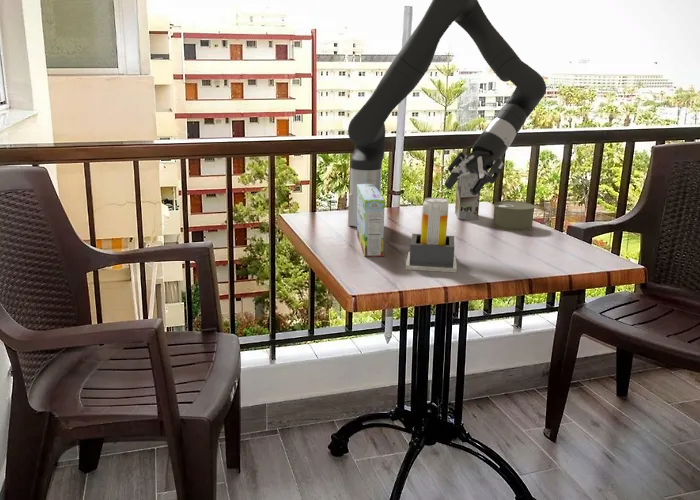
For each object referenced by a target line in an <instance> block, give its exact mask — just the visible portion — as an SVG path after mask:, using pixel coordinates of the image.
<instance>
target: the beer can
mask: <svg viewBox="0 0 700 500" xmlns="http://www.w3.org/2000/svg"><path fill="white" fill-rule="evenodd" d="M421 215H422V216H421V217H422V218H421V231H420V234H421V244H433V245H445V244H446V236H447V230H448V229H447V228H448V215H449V203H448V199H446V198H443V197H426V198H425V199H424V201H423V203H422V214H421Z"/></svg>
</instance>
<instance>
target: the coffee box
mask: <svg viewBox="0 0 700 500" xmlns="http://www.w3.org/2000/svg"><path fill="white" fill-rule="evenodd" d="M464 168H465V170H467V168H466V165H465V166H464ZM461 171H462V170H459V171H458V173H459V172H461ZM477 178H478V179H480V178H479V175H477V174H475V173H473V174H472V173H469V174H468V175H463V176H461V177H459V178H458V180H457V182H456V191H455V207H454V209H455V210H454V214H455V215H456V217H457V218H458V220H471V221H473V220H474V221H477V220H478V219H479V210H480V196H481V191H480V192H479V193H478V194H476V195H472V193H471V192H470V188H471V187H472V185H473V184H474V183H475V181H476V180H477Z"/></svg>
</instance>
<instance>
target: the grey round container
mask: <svg viewBox="0 0 700 500" xmlns="http://www.w3.org/2000/svg"><path fill="white" fill-rule="evenodd" d="M493 206H494V207H493V208H494V209H493V221H492V222H493V223H492V227H494V228H495V229H498V230H501V231H506V232H507V231H508V232H527V231H528V232H529V231H531V230H532V229H533V219H534V211H535V208H536V206H535V205H534V204H532V203H529V202H523V201H519V200H501V201H496V202H494V204H493Z"/></svg>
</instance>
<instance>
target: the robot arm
mask: <svg viewBox="0 0 700 500" xmlns="http://www.w3.org/2000/svg"><path fill="white" fill-rule="evenodd" d="M454 22H455V23H456V24H457V25H459V27H460V28H462V29H463V31H465V32H466V33H467V34H468V35H469V37H470V38H471V39H472V41H473V42H474V43H475V44H474V45H476V47H477V49H478V50H479V53H480V54H481V56H482V58H483V59H484V61H485V62H486V63H487V65H488V66H489V68H490V69H491V70H492V71H493V72H494V73H495V75H496V76H497V78H499V79H500V81H502V82H505V83H507V82H511V83H513V85H514V86H515V90H513V92H512V93H511V96H510V97H509V99H508V100H507V101H506V103H505V104H504V105H503V106H502V107H501V108H500V110H498V112H497V114H496V115H495V116H494V118H492V120H491V121H490V123H488V124H487V126H485V128H484V130H483V131H482V132H481V134H480V135H479V137H477V139H476V141H475V142H474V144H473V145H472V150H471V152H470V153H469V154H468V155H466V154H464V152H463V151H461V152H458V154H457V155H456V157H455V158H454V160H453V161H452V162H451V163H450V164H449V166H448V167H447V170H448V172H449V173H450V174H449V175H448V178H447V179H446V180H445V181H444V182H445V183H444V186H445V188H447V190H452V189H453V187H454V186H455V185H456V184H457V180H458V178H459V177H461V176H463V175H468V174H469V173H472V174H473V173H475V174H477V175H479V178H480V179H478V178H477V180H476V181H475V183H474V184H473V185H472V187H471V188H470V192H471V193H472V195H476V194H478V193H479V192H480V193H481V190H482V189H483V187H484V186H485V185H487V184H489V183H490V184H491V185H493V184H495V182H496V181H497V179H498V178H499V176H500V174H501V173H502V172H503V170H504V168H505V163H504V162H503V161H502V157H503V156H504V155H505V153H506V151H507V150H508V149H509V147H510V146H511V144H512V143H513V142H514V140H515V137H516V136H517V135H518V133H519V131H520V130H521V129H522V127H523V126H524V124H525V122H526V120H527V119H528V118H529V116H531V114H532V113H533V111H535V109H536V107H537V106H538V105H539V103H540V102H541V100H542V99H543V97H544V96H545V95H546V93H547V83H546V81H545V79H544V78H543V76H542V75H541V74H540V73H539V72H538V71H536V70H535V69H534V68H532V67H531V66H529V65H528V64H527V63H525V62H524V61H523V60H521V57H519V55H518V54H517V53H516V52H515V51H514V49H513V48H512V47H511V45H510V44H509V43H508V42H507V40H506V39H504V37H503V36H502V34H500V32H499V31H498V30H497V29H496V28H495V27H494V25H493V24H492V23H491V21H490V20H489V18H488V16H487V15H486V14H485V12H484V10H483V8H482V6H481V4H480V2H479V0H432V1H431V3H430V5H429V6H428V8H427V10H426V12H425V13H424V16H423V17H422V19H421V20H420V21H419V24H418V25H417V27H416V28H415V29H414V31H413V32H412V33H411V34H410V36H409V37H408V39H407V41H406V42H405V43H404V45H403V46H402V48H401V49H400V50H399V52H398V53H397V54H396V56H395V57H394V59H393V61H392V62H391V63H390V65H389V67H388V68H387V70H386V72H385V73H384V75H383V76H382V77H381V79H380V81H379V83H378V84H377V86H376V88H375V89H374V91H373V93H372V94H371V96H370V97H369V99H368V100H367V101H366V102H365V103H364V105H362V107H361V108H360V109H359V110H358V112H357V113H356V114H355V115H354V116H353V117H352V118H351V120H350V121H349V124H348V128H347V134H348V139H349V140H350V142H352V143H353V144H354V148H353V150H354V151H353V154H352V156H351V158H350V172H349V173H350V176H349V177H350V178H349V179H350V180H349V181H350V182H349V183H350V184H349V194H348V210H347V211H348V212H347V213H348V214H347V215H348V216H347V218H348V219H347V220H348V221H347V223H348V224H347V226H351V227H355V228H357V184H375V186H376V188H377V189H378V191H379V192H380V194H381V195H382V193H381V192H382V170H383V169H382V167H383V159H384V156H385V145H386V144H385V142H386V124H385V122H386V120H387V119H388V117H389V116H390V115H391V113H392V111H394V110H395V109H396V107H397V106H399V104H401V102H403V100H405V98H407V97H408V95H410V94H411V92H412V91H414V89H416V87H417V86H418V84H419V82H420V81H421V80H422V79H423V77H424V76H425V75H426V73H427V71H428V70H429V68H430V66H431V64H432V61H433V59H434V56H435V54H436V50H437V48H438V45H439V43H440V42H441V39H442V38H443V36H444V34H445V33H446V31H447V30H448V29H449V27H450V26H451V25H452V24H453V23H454ZM465 165H466V168H467V170H465V168H464V166H465ZM454 167H455V168H454ZM459 170H462V171H461V172H459V173H458V171H459Z"/></svg>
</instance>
